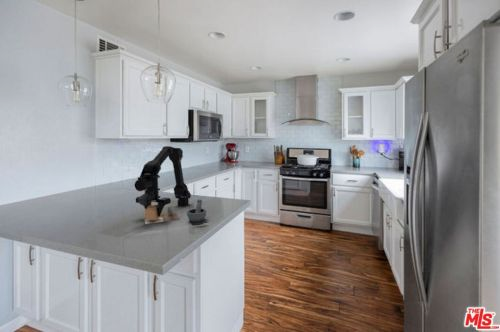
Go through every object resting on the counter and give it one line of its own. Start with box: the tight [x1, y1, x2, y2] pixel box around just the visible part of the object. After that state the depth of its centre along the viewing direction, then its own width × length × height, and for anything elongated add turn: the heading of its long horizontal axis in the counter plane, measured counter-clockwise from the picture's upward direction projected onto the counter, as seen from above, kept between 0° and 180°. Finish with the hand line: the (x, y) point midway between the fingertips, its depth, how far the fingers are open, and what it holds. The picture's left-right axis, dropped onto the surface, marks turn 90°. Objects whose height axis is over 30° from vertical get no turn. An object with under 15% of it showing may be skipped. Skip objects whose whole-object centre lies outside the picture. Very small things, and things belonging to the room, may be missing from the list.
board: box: [142, 205, 181, 226], centre depth 140 cm, size 18×14×6 cm
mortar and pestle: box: [186, 199, 207, 227], centre depth 136 cm, size 11×9×12 cm
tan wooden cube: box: [144, 204, 163, 220], centre depth 136 cm, size 6×6×6 cm
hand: (153, 216), depth 136 cm, fingers closed on tan wooden cube, 6 cm apart
